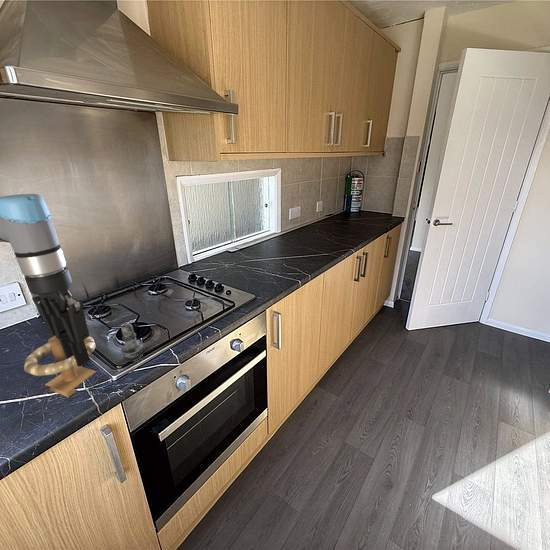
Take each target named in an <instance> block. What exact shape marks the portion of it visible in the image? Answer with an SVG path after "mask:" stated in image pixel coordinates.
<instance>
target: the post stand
mask: <svg viewBox="0 0 550 550" xmlns="http://www.w3.org/2000/svg"><path fill="white" fill-rule="evenodd" d="M47 343H49V345H50V347H51V350H52V352H51V353H52V354H53V357H54V359H55V363H57V362H60V361H62V360H65V359H67V358H66V356H65V353H64V351H63V348H62V345H61V343H60V339H57V338H56V335H53V336H52V337H50V338H49V339H48V340H47ZM96 373H97V371H96V370H93V369H90V368H88V367H84V366H80V367H79V366H75V367H73V368H70V369H68V370H65V371H62V372H60V373H59V374H58V375H57V376H55V377H53V378H52V379H51V380H49V381H48V382H46V383H45V384H44V386H46V387H49V388H48V391H50V392H53V393H54V394H55V393H56V394H58V395H60V396H63V397H66V398H69V397H72V395H73V394H75V393H76V392H77V391H78V389H76V388H77V387H78V386H80V385H81V384H82V383H83V382H85V381H86V380H87V379H89V378H91V376H94V374H96Z"/></svg>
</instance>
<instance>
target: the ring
mask: <svg viewBox="0 0 550 550" xmlns="http://www.w3.org/2000/svg"><path fill="white" fill-rule="evenodd" d="M84 343H85V346H86V349H87V352H88V355H89V357H91V355H92V353H93V352H94V351H95V349H96V346H97V345H96V343H95V339H94V338H93V337H92V336H89V337H88V338H86V339H84ZM50 353H53V352H52V350H51V347H50V345H49V342H47V343H45V344H43V345H42V346H39V347H38V348H36V349H34V350H33V351H32V352H31V353H30V354H29V355H28V356H27V357H26V358H25V360H24V372H25V373H27V374H30V375H33V376H35V377H45V376H51V375H57V374H61V372H62V371H65V370H68V369H70V368H73V367H75V366H77V363H76V361H75V358H74V355H73V356H72V357H70V358H68V359H65V360H62V361H60V362H53V363H46V364H40V363H39V361H41V359H42V358H44V357H45V356H47V355H48V354H50Z"/></svg>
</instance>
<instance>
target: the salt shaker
mask: <svg viewBox="0 0 550 550" xmlns="http://www.w3.org/2000/svg"><path fill="white" fill-rule="evenodd" d="M120 329H121V330H120V331H121V334H122V337H121V339H122V340H123V341H124V344H123V346H122V347H121V349H120V353H121V354H122V355H123V356H124V358H128V359H131V360H130V361H129V362H131V361H136V360H138V359H140V358H141V357H142V356H143V353H144V352H143V350H144V343H143V342H142V341H138V340H137V337H136V336H137V333H135V330H134V326H133V325H132V324H131V323H128V322H127V321H124V324H123V325H121V328H120ZM142 352H143V353H142Z"/></svg>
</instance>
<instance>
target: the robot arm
mask: <svg viewBox="0 0 550 550" xmlns="http://www.w3.org/2000/svg"><path fill="white" fill-rule="evenodd" d="M0 243H9V244H10V246H11V248H12V250H13V253H14V255H15V260H16V262H17V264H18V266H19V267H18V268H19V269H20V272H21V274H22V275H24V281H25V284H26V286H27V288H28V291H29V292H30V294H32V295H36V296H33V297H32V298H31V301H32V302H33V303H34V304H35V306H36V307H37V309H38V311H39V314H40V315H41V318H42V320H43V322H44V324H45V326H46V328H47V330H48V333H49V335H50V336H52V337H54V336H56V338H57V339H60V343H61V345H62V348H63V351H64V353H65V356H66V358H67V359H68V358H70V357H72V356H73V355H74V358H75V361H76V363H77V366H79V367H80V366H81V367H83V365H84V364H86V363H87V362H89V361H90V360H91V358H90V356H89V355H88V352H87V349H86V346H85V343H84V339H86V338H88V337H90V333H89V328H88V323H87V320H86V316H85V312H84V305H85V304H84V302H83V301H82V300H75V299H73V295H72V294H71V292H70V290H69V288H70V286H71V285H72V284H73V279H72V275H71V274H70V269H69V268H68V267H66V266H67V262H66V259H65V256H64V250H62V248H61V244H60V240H59V237H58V234H57V231H56V227H55V224H54V221H53V218H52V213H51V211H50V210H49V208H48V206H47V203H46V201H45V198H44V197H43V196H42V195H40V194H37V193H21V194H10V195H4V196H0Z"/></svg>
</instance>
